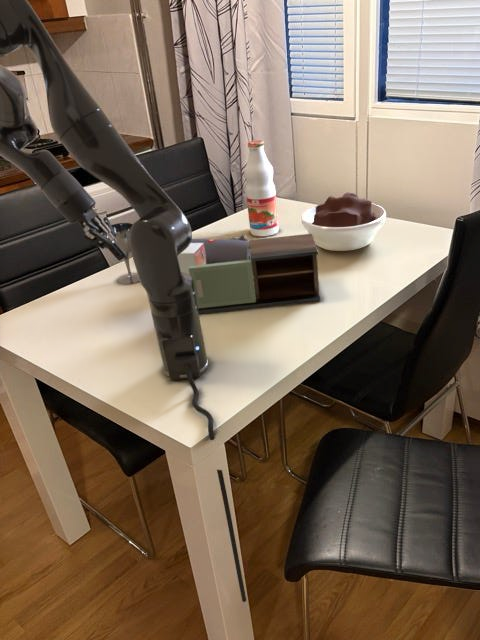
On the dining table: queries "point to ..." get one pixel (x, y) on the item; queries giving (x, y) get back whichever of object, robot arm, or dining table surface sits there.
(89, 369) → the dining table surface
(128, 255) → the wine glass
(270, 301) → the track
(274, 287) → the box
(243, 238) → the animal figurine
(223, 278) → the door
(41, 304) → the dining table surface
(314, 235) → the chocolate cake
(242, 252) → the bluetooth speaker
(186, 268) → the small box
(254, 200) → the fruit juice
